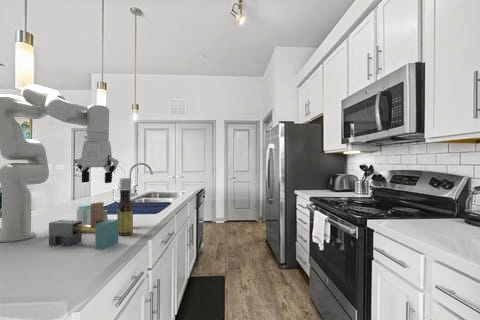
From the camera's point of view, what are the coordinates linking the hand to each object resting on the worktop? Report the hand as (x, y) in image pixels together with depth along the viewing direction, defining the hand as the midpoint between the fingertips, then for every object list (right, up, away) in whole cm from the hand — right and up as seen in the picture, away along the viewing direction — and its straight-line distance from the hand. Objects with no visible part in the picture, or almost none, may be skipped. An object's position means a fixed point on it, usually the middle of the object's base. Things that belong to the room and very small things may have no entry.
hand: (96, 182), depth 101 cm
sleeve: (-13, -24, +2) cm, 27 cm away
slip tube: (-3, -19, 0) cm, 20 cm away
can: (-17, -25, +21) cm, 37 cm away
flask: (-7, -25, +19) cm, 32 cm away
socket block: (+5, -24, -1) cm, 24 cm away
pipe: (-2, -25, +28) cm, 37 cm away
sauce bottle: (+4, -24, +15) cm, 29 cm away
